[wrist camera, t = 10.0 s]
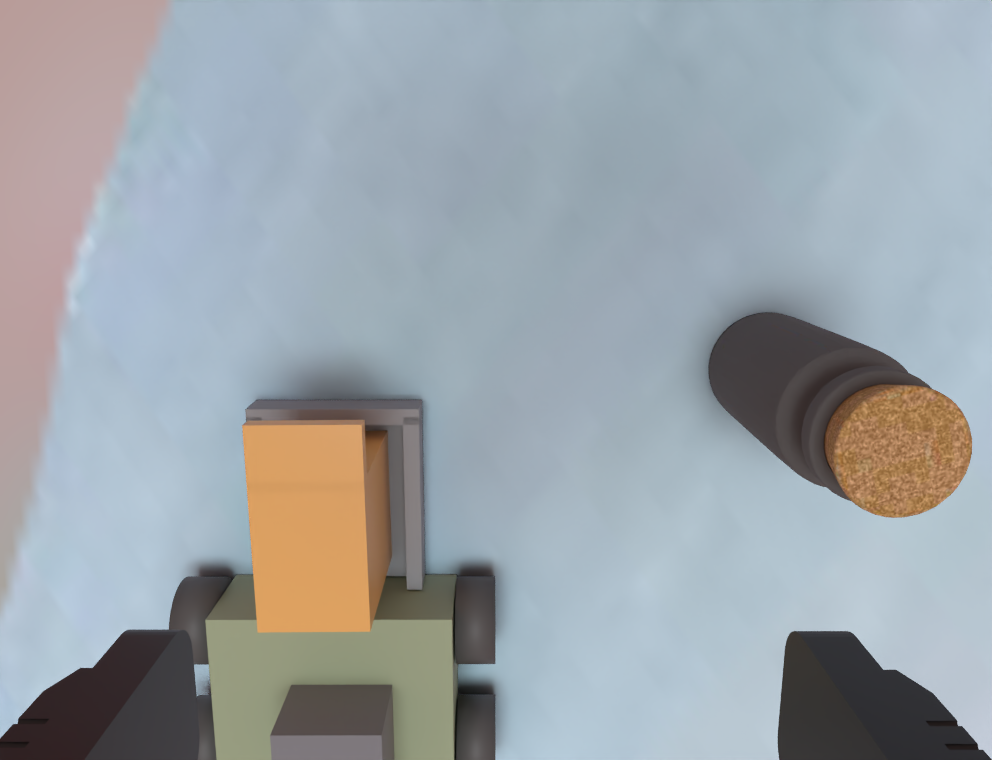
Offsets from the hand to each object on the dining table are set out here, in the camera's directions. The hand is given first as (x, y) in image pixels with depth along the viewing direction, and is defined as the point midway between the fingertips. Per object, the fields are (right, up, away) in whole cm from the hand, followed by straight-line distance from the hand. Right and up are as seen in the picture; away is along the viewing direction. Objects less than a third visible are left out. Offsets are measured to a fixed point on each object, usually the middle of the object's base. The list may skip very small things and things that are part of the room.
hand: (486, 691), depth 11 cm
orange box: (-8, -1, +32) cm, 33 cm away
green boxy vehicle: (-8, -7, +34) cm, 36 cm away
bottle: (+14, +5, +32) cm, 35 cm away
